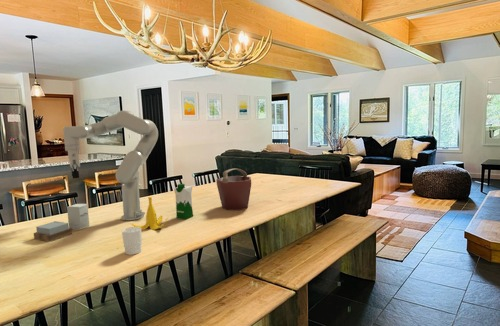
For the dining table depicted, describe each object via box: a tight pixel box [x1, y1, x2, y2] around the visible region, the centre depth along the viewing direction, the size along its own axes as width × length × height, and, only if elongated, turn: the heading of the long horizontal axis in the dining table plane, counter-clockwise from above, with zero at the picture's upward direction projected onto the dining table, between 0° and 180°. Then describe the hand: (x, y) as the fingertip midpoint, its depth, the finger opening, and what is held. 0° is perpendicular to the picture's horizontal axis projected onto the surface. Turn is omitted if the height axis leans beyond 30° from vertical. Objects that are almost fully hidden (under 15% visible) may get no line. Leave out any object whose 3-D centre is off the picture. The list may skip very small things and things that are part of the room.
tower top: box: [35, 221, 69, 235], centre depth 169 cm, size 10×10×3 cm
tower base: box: [33, 228, 73, 243], centre depth 170 cm, size 12×12×3 cm
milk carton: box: [173, 183, 194, 220], centre depth 196 cm, size 9×9×20 cm
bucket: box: [216, 168, 252, 211], centre depth 217 cm, size 24×22×25 cm
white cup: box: [121, 226, 143, 256], centre depth 145 cm, size 8×8×10 cm
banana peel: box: [130, 196, 164, 231], centre depth 179 cm, size 17×19×17 cm
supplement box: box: [66, 203, 90, 231], centre depth 183 cm, size 7×7×13 cm
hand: (75, 177), depth 195 cm, fingers open, 9 cm apart
